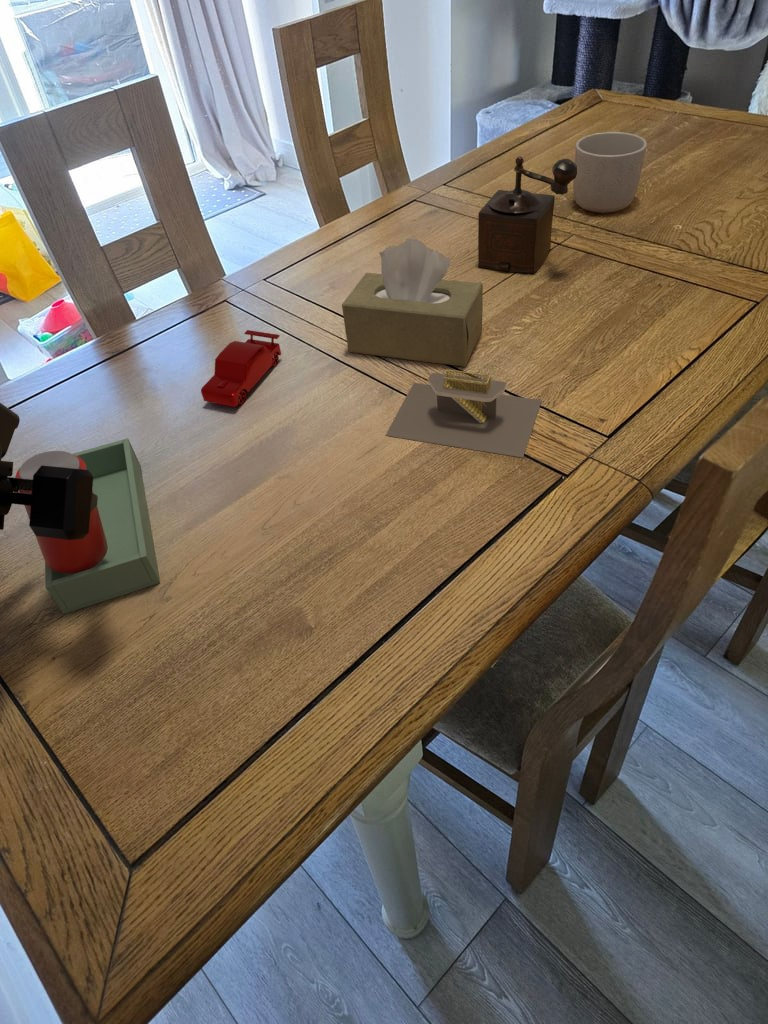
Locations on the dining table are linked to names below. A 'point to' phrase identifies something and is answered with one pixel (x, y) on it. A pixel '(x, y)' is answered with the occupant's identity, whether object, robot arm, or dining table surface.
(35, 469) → the can
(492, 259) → the manual coffee grinder
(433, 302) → the tissue box
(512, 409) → the platform
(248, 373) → the toy car
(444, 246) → the dining table surface
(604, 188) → the planter
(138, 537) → the bin
